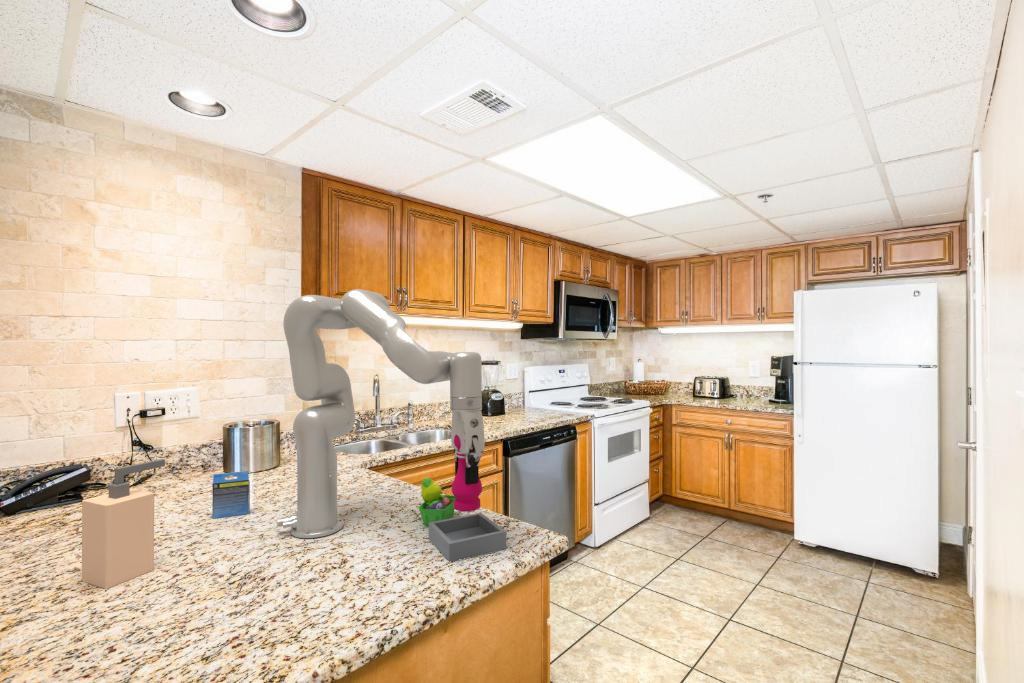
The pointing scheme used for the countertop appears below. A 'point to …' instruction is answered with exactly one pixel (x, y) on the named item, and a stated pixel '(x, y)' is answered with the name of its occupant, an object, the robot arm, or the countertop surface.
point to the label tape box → (230, 494)
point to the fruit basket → (435, 503)
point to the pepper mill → (464, 485)
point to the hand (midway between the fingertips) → (466, 479)
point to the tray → (466, 536)
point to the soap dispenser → (118, 531)
